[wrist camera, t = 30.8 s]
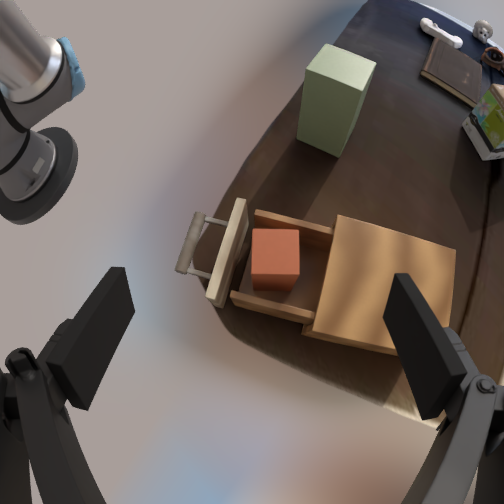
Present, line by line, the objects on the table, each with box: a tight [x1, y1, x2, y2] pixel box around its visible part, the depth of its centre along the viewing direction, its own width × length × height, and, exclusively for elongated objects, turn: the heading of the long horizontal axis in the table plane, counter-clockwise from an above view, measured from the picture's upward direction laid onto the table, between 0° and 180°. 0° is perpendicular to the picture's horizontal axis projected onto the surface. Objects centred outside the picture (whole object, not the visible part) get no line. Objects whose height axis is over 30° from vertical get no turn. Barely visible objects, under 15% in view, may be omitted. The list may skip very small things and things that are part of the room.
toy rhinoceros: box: [473, 20, 493, 44], centre depth 62 cm, size 7×12×8 cm, turn 143°
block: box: [251, 229, 300, 291], centre depth 38 cm, size 5×5×10 cm
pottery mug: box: [481, 47, 504, 72], centre depth 59 cm, size 12×10×8 cm
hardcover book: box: [420, 37, 482, 109], centre depth 57 cm, size 16×23×2 cm
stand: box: [296, 44, 376, 158], centre depth 44 cm, size 8×8×16 cm
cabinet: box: [301, 215, 456, 356], centre depth 38 cm, size 17×14×10 cm
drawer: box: [175, 198, 334, 325], centre depth 40 cm, size 21×13×8 cm, turn 74°
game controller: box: [420, 18, 463, 49], centre depth 62 cm, size 14×4×10 cm
